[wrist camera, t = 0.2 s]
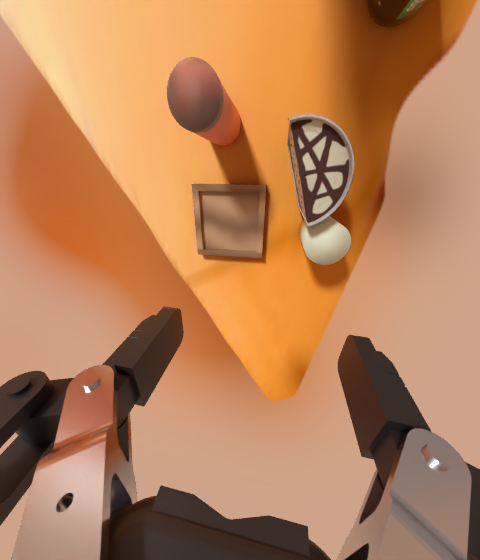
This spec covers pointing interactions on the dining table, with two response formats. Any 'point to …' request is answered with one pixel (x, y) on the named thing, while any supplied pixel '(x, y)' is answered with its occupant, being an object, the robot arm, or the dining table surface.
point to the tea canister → (202, 102)
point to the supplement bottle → (393, 10)
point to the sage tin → (325, 241)
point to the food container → (319, 165)
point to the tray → (229, 219)
